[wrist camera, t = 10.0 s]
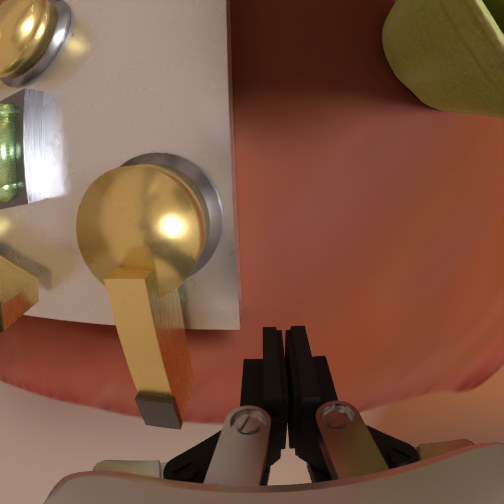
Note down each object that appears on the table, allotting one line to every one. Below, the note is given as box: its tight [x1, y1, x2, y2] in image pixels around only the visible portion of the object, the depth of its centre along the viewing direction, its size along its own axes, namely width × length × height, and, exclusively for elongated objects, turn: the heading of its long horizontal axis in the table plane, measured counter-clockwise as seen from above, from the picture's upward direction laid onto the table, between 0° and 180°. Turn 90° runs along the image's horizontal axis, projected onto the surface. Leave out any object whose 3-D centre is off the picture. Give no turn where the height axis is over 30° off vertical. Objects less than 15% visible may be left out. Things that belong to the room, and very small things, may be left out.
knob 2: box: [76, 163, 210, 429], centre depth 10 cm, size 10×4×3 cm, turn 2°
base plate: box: [0, 0, 243, 330], centre depth 10 cm, size 18×20×4 cm
